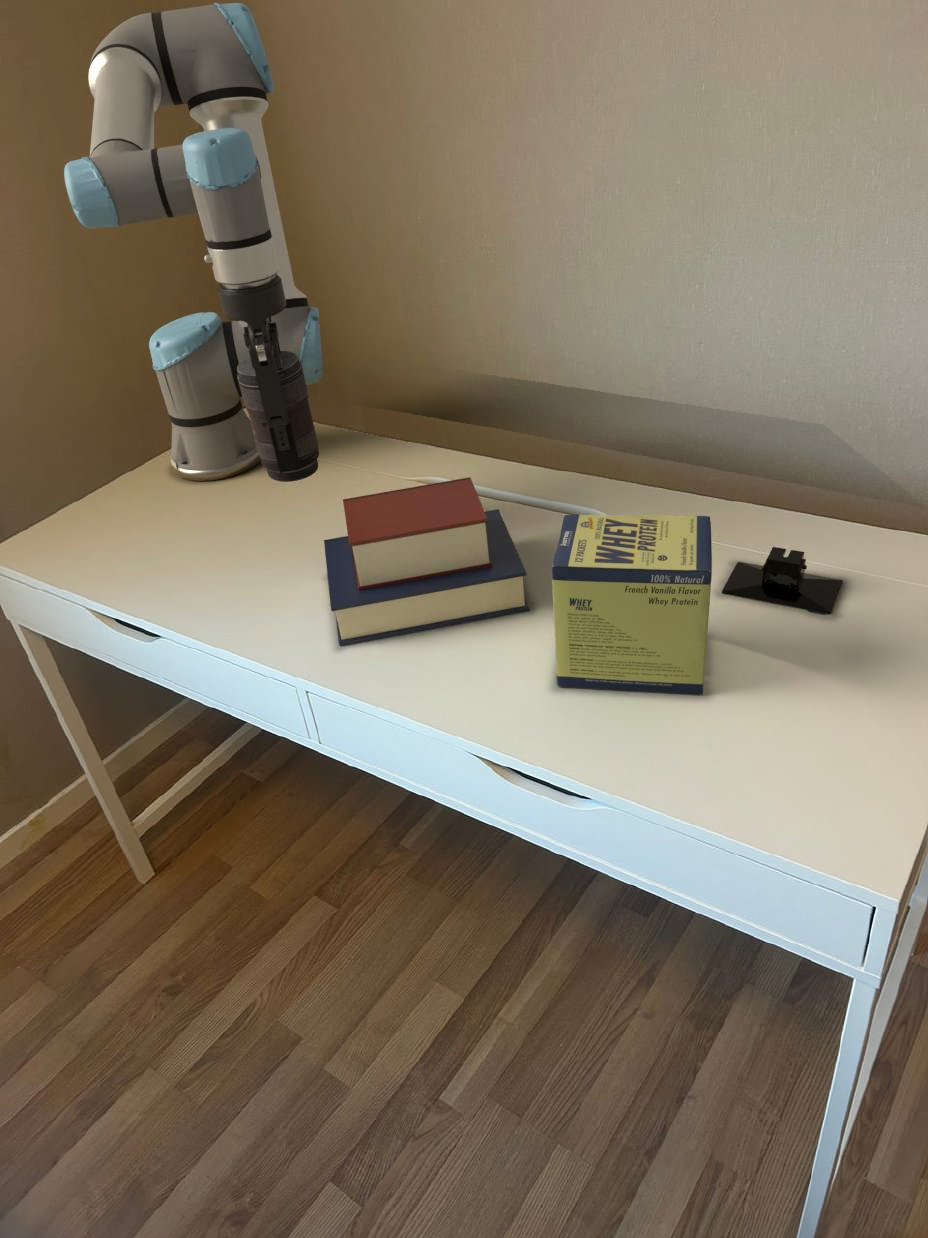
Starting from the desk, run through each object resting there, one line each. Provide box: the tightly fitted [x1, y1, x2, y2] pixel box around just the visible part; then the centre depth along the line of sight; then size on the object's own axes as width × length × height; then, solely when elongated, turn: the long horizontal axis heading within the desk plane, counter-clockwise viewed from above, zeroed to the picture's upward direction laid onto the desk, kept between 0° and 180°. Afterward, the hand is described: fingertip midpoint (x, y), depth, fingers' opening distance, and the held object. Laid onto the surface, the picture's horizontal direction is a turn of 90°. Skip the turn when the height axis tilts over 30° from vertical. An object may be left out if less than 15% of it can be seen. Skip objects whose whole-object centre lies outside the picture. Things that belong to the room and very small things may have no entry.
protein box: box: [551, 514, 713, 696], centre depth 97 cm, size 10×16×16 cm
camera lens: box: [237, 351, 320, 483], centre depth 119 cm, size 8×8×15 cm
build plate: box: [721, 546, 844, 616], centre depth 109 cm, size 12×7×5 cm, turn 61°
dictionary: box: [342, 476, 492, 590], centre depth 112 cm, size 11×16×6 cm
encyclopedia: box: [323, 508, 530, 647], centre depth 116 cm, size 16×23×6 cm
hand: (289, 455), depth 122 cm, fingers closed on camera lens, 8 cm apart
